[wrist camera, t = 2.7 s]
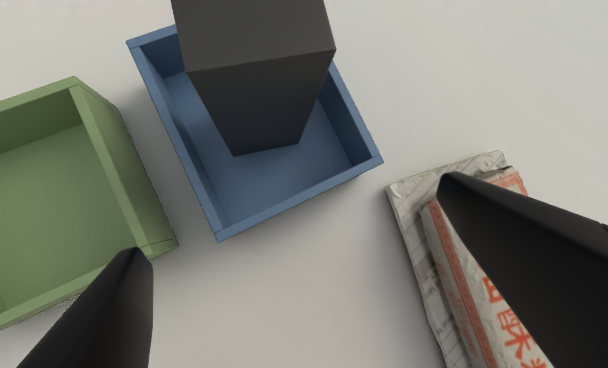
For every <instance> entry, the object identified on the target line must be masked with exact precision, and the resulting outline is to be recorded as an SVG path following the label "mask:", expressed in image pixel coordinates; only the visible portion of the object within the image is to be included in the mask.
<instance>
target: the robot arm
mask: <svg viewBox="0 0 608 368" xmlns="http://www.w3.org/2000/svg"><path fill="white" fill-rule="evenodd" d="M436 198H437V201H438V203H439V204H440V206H441V208H442V209H443V211H444V213H445V215H446V216H447V218H448V220H449V221H450V223H451V225H452V227H453V228H454V230H455V232H456V233H457V235H458V237H459V238H460V240H461V241H462V243H463V244H464V246H465V247H466V248H467V250H468V251H469V252H470V254H471V255H472V256H473V258H474V259H475V261H476V262H477V263H478V265H479V266H480V267H481V269H482V270H483V272H484V273H485V274H486V276H487V277H488V278H489V280H490V281H491V282H492V284H493V285H494V287H495V288H496V289H497V291H498V292H499V293H500V295H501V296H502V297H503V299H504V300H505V302H506V303H507V304H508V306H509V307H510V308H511V310H512V311H513V312H514V314H515V315H516V317H517V318H518V319H519V321H520V322H521V323H522V325H523V326H524V327H525V329H526V330H527V332H528V333H529V334H530V336H531V337H532V338H533V340H534V341H535V342H536V344H537V345H538V347H539V348H540V349H541V351H542V352H543V353H544V355H545V356H546V357H547V359H548V360H549V362H550V363H551V364H552V366H553V367H554V368H608V225H606V224H600V223H599V222H597V221H595V220H592V219H589V218H586V217H583V216H581V215H578V214H575V213H572V212H569V211H567V210H564V209H561V208H558V207H556V206H553V205H550V204H547V203H544V202H542V201H539V200H536V199H533V198H531V197H528V196H525V195H522V194H519V193H517V192H514V191H511V190H508V189H506V188H503V187H500V186H497V185H494V184H492V183H489V182H486V181H483V180H480V179H478V178H475V177H472V176H469V175H467V174H464V173H461V172H458V171H451V172H447V173H444V174H442V175H441V177H440V181H439V184H438V187H437V191H436ZM152 329H153V267H152V265H151V263H150V262H149V260H148V259H147V257H146V256H145V254H144V253H143V252H142V250H141V249H140V248H139V247H131V248H127V249H123V250H121V251H119V252H118V253H117V254H116V255H115V256H114V258H113V259H112V260H111V261H110V262H109V263H108V264H107V265H106V267H105V268H104V269H103V270H102V271H101V272H100V273H99V275H98V276H97V277H96V278H95V279H94V280H93V281H92V282H91V284H90V285H89V286H88V287H87V288H86V289H85V290H84V292H83V293H82V294H81V295H80V296H79V297H78V298H77V299H76V301H75V302H74V303H73V304H72V305H71V306H70V307H69V308H68V310H67V311H66V312H65V313H64V314H63V315H62V316H61V318H60V319H59V320H58V321H57V322H56V323H55V324H54V325H53V327H52V328H51V329H50V330H49V331H48V332H47V333H46V334H45V336H44V337H43V338H42V339H41V340H40V341H39V342H38V344H37V345H36V346H35V347H34V348H33V349H32V350H31V351H30V353H29V354H28V355H27V356H26V357H25V358H24V359H23V361H22V362H21V363H20V364H19V365H18V366H17V367H16V368H148V362H149V354H150V346H151V338H152Z"/></svg>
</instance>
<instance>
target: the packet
mask: <svg viewBox="0 0 608 368" xmlns="http://www.w3.org/2000/svg"><path fill="white" fill-rule="evenodd" d="M171 4H172V9H173V14H174V19H175V24H176V28H177V33H178V38H179V43H180V48H181V53H182V57H183V62H184V67H185V72H186V74H187V76H188V77H189V79H190V81H191V83H192V85H193V86H194V88H195V90H196V92H197V93H198V95H199V97H200V99H201V101H202V102H203V104H204V106H205V108H206V110H207V111H208V113H209V115H210V117H211V118H212V120H213V122H214V124H215V126H216V127H217V129H218V131H219V133H220V135H221V136H222V138H223V140H224V142H225V143H226V145H227V147H228V149H229V151H230V152H231V154H232V156H233V157H236V156H241V155H246V154H251V153H256V152H260V151H265V150H270V149H275V148H280V147H285V146H290V145H295V144H299V142H300V139H301V137H302V134H303V132H304V129H305V127H306V124H307V122H308V119H309V117H310V114H311V112H312V109H313V107H314V104H315V102H316V99H317V97H318V94H319V92H320V89H321V87H322V84H323V82H324V79H325V77H326V74H327V72H328V69H329V67H330V64H331V62H332V59H333V57H334V54H335V52H336V46H335V43H334V39H333V35H332V31H331V27H330V24H329V20H328V16H327V12H326V8H325V5H324V1H323V0H171Z"/></svg>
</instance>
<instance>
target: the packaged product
mask: <svg viewBox="0 0 608 368" xmlns="http://www.w3.org/2000/svg"><path fill="white" fill-rule="evenodd" d="M451 171H458V172H461V173H464V174H467V175H469V176H472V177H475V178H478V179H480V180H483V181H486V182H489V183H492V184H494V185H497V186H500V187H503V188H506V189H508V190H511V191H514V192H517V193H519V194H522V195H525V196H528V194H527V191H526V189H525V187H524V185H523V180H522V179H521V177H520V176H519V173H518V171H517V170H516V169H515V168H513V167H512V166H507V163H506V161H505V157H504V154H503V151H502V150H497V151H493V152H489V153H485V154H481V155H478V156H475V157H473V158H470V159H467V160H465V161H462V162H459V163H455V164H451V165H447V166H443V167H440V168H436V169H433V170H430V171H427V172H423V173H420V174H417V175H414V176H411V177H408V178H406V179H403V180H401V181H399V182H396V183H394V184H391V185H389V186H387V187H385V189H386V192H387V194H388V197H389V200H390V203H391V206H392V208H393V211H394V214H395V217H396V220H397V222H398V225H399V228H400V231H401V234H402V236H403V239H404V241H405V244H406V246H407V249H408V252H409V256H410V259H411V262H412V265H413V269H414V272H415V275H416V278H417V281H418V285H419V288H420V291H421V294H422V298H423V303H424V307H425V311H426V316H427V320H428V323H429V325H430V327H431V329H432V331H433V333H434V335H435V337H436V339H437V341H438V343H439V345H440V347H441V350H442V353H443V356H444V359H445V363H446V366H447V368H554V367H553V366H552V364H551V363H550V362H549V360H548V359H547V357H546V356H545V355H544V353H543V352H542V351H541V349H540V348H539V347H538V345H537V344H536V342H535V341H534V340H533V338H532V337H531V336H530V334H529V333H528V332H527V330H526V329H525V327H524V326H523V325H522V323H521V322H520V321H519V319H518V318H517V317H516V315H515V314H514V312H513V311H512V310H511V308H510V307H509V306H508V304H507V303H506V302H505V300H504V299H503V297H502V296H501V295H500V293H499V292H498V291H497V289H496V288H495V287H494V285H493V284H492V282H491V281H490V280H489V278H488V277H487V276H486V274H485V273H484V272H483V270H482V269H481V267H480V266H479V265H478V263H477V262H476V261H475V259H474V258H473V256H472V255H471V254H470V252H469V251H468V250H467V248H466V247H465V246H464V244H463V243H462V241H461V240H460V238H459V237H458V235H457V233H456V232H455V230H454V228H453V227H452V225H451V223H450V221H449V220H448V218H447V216H446V215H445V213H444V211H443V209H442V208H441V206H440V204H439V203H438V201H437V198H436V191H437V187H438V184H439V181H440V177H441V175H442V174H444V173H447V172H451Z"/></svg>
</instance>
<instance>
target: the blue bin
mask: <svg viewBox="0 0 608 368" xmlns="http://www.w3.org/2000/svg"><path fill="white" fill-rule="evenodd" d="M126 44H127V46H128V48H129V50H130V52H131V54H132V57H133V59H134V61H135V63H136V65H137V68H138V70H139V72H140V74H141V76H142V78H143V81H144V83H145V85H146V87H147V89H148V92H149V94H150V96H151V98H152V100H153V102H154V105H155V107H156V109H157V111H158V113H159V116H160V118H161V120H162V122H163V124H164V126H165V129H166V131H167V133H168V135H169V137H170V140H171V142H172V144H173V146H174V148H175V150H176V153H177V155H178V157H179V159H180V161H181V164H182V166H183V168H184V170H185V172H186V174H187V177H188V179H189V181H190V183H191V185H192V188H193V190H194V192H195V194H196V196H197V198H198V201H199V203H200V205H201V207H202V209H203V212H204V214H205V216H206V218H207V220H208V222H209V225H210V227H211V229H212V231H213V233H214V236H215V238H216V240H217V242H218V243H219V242H221V241H224V240H226V239H228V238H230V237H232V236H234V235H236V234H238V233H240V232H242V231H245V230H247V229H249V228H251V227H253V226H255V225H257V224H259V223H261V222H263V221H265V220H267V219H269V218H271V217H273V216H275V215H278V214H280V213H282V212H284V211H286V210H288V209H290V208H292V207H294V206H296V205H298V204H300V203H302V202H304V201H306V200H309V199H311V198H313V197H315V196H317V195H319V194H321V193H323V192H325V191H327V190H329V189H331V188H333V187H335V186H337V185H339V184H342V183H344V182H346V181H348V180H350V179H352V178H354V177H356V176H358V175H360V174H362V173H364V172H366V171H368V170H370V169H372V168H374V167H376V166H378V165H380V164H383V163H384V161H383V159H382V157H381V155H379V154H380V153H379V151H378V149H377V147H376V145H375V143H374V141H373V139H372V137H371V135H370V133H369V131H368V129H367V127H366V125H365V123H364V121H363V119H362V117H361V115H360V113H359V111H358V109H357V107H356V105H355V103H354V101H353V99H352V97H351V95H350V93H349V91H348V89H347V87H346V85H345V84H344V82H343V80H342V78H341V76H340V74H339V72H338V70H337V68H336V66H335V64H334V62H333V60H332V62H331V64H330V67H329V69H328V72H327V74H326V77H325V79H324V82H323V84H322V87H321V89H320V92H319V94H318V97H317V99H316V102H315V104H314V107H313V109H312V112H311V114H310V117H309V119H308V122H307V124H306V127H305V129H304V132H303V134H302V137H301V139H300V142H299V144H295V145H290V146H285V147H280V148H275V149H270V150H265V151H260V152H256V153H251V154H246V155H241V156H236V157H233V156H232V154H231V152H230V151H229V149H228V147H227V145H226V143H225V142H224V140H223V138H222V136H221V135H220V133H219V131H218V129H217V127H216V126H215V124H214V122H213V120H212V118H211V117H210V115H209V113H208V111H207V110H206V108H205V106H204V104H203V102H202V101H201V99H200V97H199V95H198V93H197V92H196V90H195V88H194V86H193V85H192V83H191V81H190V79H189V77H188V76H187V74H186V72H185V67H184V62H183V57H182V53H181V48H180V43H179V38H178V33H177V28H176V24H174V25H171V26H168V27H165V28H162V29H159V30H156V31H153V32H150V33H148V34H145V35H142V36H139V37H136V38H133V39H130V40H127V41H126Z"/></svg>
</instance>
